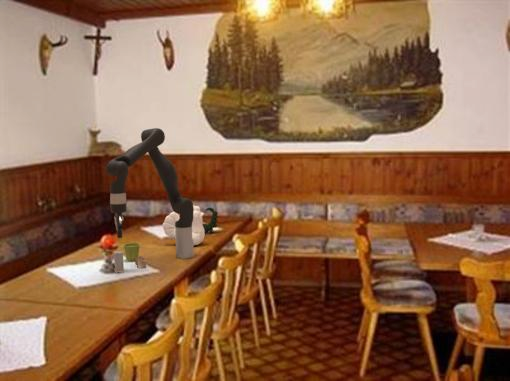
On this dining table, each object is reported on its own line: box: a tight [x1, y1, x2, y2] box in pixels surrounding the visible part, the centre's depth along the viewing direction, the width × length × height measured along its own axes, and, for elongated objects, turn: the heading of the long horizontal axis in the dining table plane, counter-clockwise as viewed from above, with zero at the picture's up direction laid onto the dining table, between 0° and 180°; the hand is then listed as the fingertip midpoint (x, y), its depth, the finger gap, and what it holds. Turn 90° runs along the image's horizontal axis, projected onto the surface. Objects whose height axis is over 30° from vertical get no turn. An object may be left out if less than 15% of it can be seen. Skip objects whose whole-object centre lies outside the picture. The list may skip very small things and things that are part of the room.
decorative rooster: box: [162, 204, 206, 246], centre depth 336 cm, size 25×16×25 cm, turn 80°
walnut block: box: [134, 255, 147, 269], centre depth 287 cm, size 4×4×10 cm
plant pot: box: [122, 242, 141, 262], centre depth 299 cm, size 9×9×9 cm
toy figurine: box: [202, 207, 219, 235], centre depth 373 cm, size 9×19×25 cm
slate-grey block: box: [113, 250, 125, 273], centre depth 275 cm, size 4×4×10 cm
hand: (119, 237), depth 266 cm, fingers closed
